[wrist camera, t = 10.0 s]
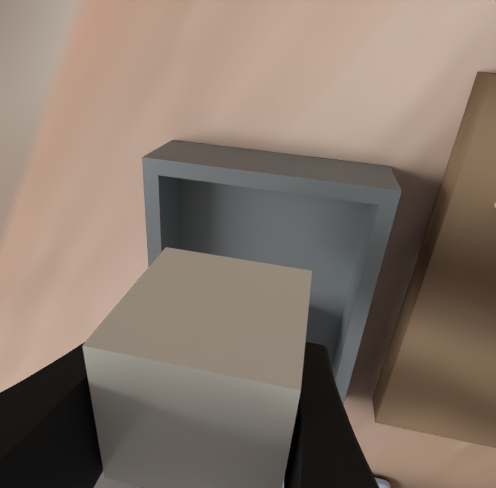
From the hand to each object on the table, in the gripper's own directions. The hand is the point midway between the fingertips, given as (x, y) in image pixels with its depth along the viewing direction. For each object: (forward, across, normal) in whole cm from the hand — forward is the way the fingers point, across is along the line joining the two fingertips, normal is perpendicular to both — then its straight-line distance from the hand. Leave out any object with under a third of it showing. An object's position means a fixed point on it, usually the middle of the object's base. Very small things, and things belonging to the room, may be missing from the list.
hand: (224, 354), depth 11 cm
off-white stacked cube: (+1, 0, 0) cm, 1 cm away
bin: (+8, 0, +3) cm, 9 cm away
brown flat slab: (+8, -10, +1) cm, 13 cm away
